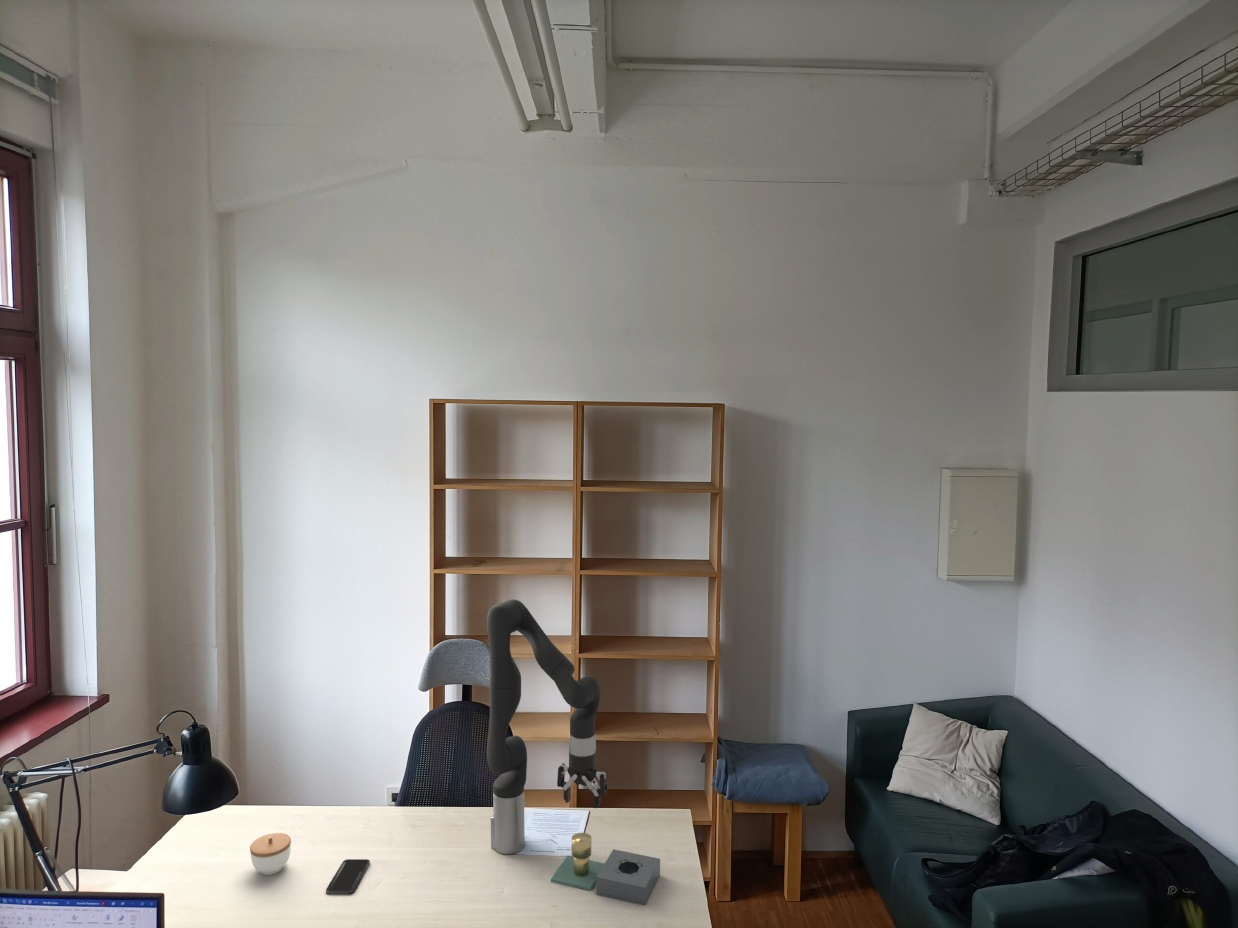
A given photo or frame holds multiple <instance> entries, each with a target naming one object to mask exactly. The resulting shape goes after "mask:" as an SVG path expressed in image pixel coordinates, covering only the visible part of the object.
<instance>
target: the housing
mask: <svg viewBox="0 0 1238 928" xmlns="http://www.w3.org/2000/svg"><path fill="white" fill-rule="evenodd" d="M604 863H605V864H604V865H603V867H602V869H601V870H600V872H599V873H598V875H597V877H596V883H595V890H596V891H595V895H596V896H602V897H606V898H610V899H615V900H620V901H624V902H628V903H632V904H637V905H642V906H646V905H647V903H648V901H649V899H650V897H651V894H652V892H653V891H654V888H655V887H656V885H657V883H658V880H659V878H660V876H661V858H658V857H655V856H654V857H653V856H648V855H644V854H639V853H635V852H634V853H633V852H628V851H624V850H619V849H612V850H611V853H610V854H609V856H608V857H607V859H606V860H605V862H604Z"/></svg>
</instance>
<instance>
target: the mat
mask: <svg viewBox="0 0 1238 928" xmlns="http://www.w3.org/2000/svg"><path fill="white" fill-rule="evenodd" d="M604 864H605V862H600V861H595V860H590V859H589V874H588V875H586V876H576V875H575V874H574V857H573V856H572V855H567V856H566V857H565V858H564V860H563V861H562V863H560V865H559V867H558V868H557V870H556V871H555V872H554V873H553V875H552V877H551V878H550V882H551V883H555V884H559V885H562V886H567V887H572V888H577V889H581V890H585V891H588V892H589V891H590V892H591V891H592V889H593V887H594V886H596V877H597V875H598V873H599V872H600V870H601V869H602V867H603V865H604Z"/></svg>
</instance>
